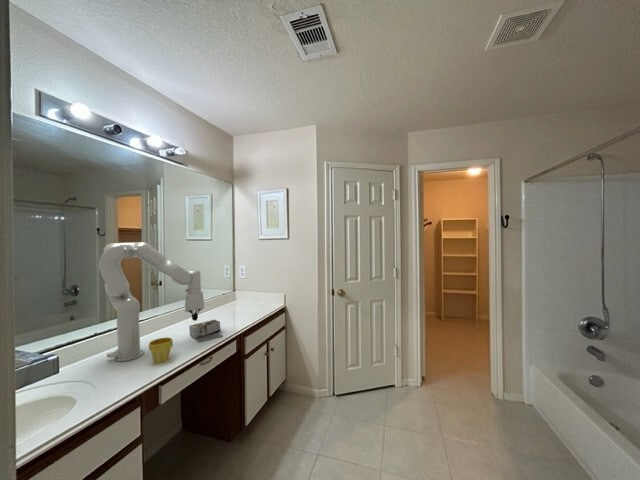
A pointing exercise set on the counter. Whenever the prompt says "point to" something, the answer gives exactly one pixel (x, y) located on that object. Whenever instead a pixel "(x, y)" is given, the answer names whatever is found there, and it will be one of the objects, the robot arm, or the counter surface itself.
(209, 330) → the coffee box
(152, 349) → the plant pot
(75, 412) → the counter surface
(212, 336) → the mat
